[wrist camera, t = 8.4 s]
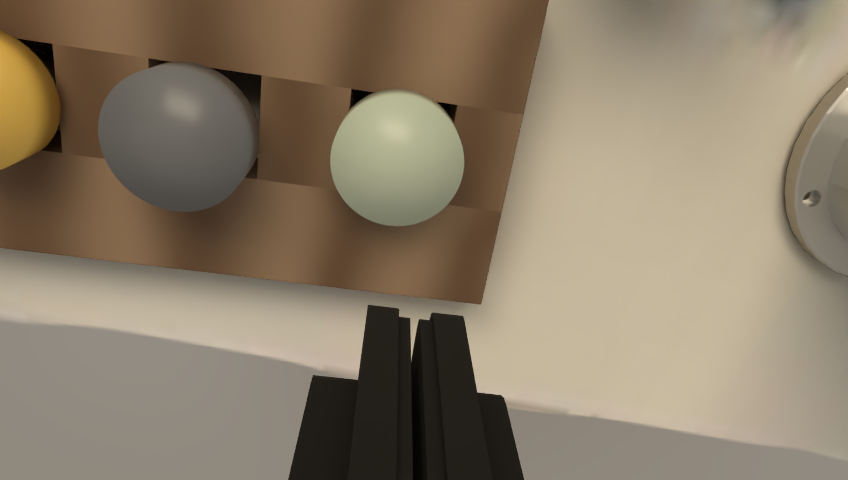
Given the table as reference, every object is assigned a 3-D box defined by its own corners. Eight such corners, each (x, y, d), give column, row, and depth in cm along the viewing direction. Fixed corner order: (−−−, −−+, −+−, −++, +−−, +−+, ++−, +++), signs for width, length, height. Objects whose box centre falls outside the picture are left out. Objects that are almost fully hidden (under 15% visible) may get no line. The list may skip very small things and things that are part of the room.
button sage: (463, 87, 26) (475, 107, 22) (443, 195, 28) (451, 233, 24) (347, 69, 26) (337, 86, 21) (336, 181, 28) (324, 217, 23)
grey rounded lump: (277, 63, 24) (251, 80, 20) (271, 181, 26) (245, 220, 22) (148, 43, 24) (92, 56, 20) (152, 165, 26) (102, 202, 22)
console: (534, -10, 25) (550, -9, 23) (473, 275, 31) (481, 304, 28) (-112, -121, 23) (-181, -135, 20) (-52, 211, 28) (-100, 236, 26)
